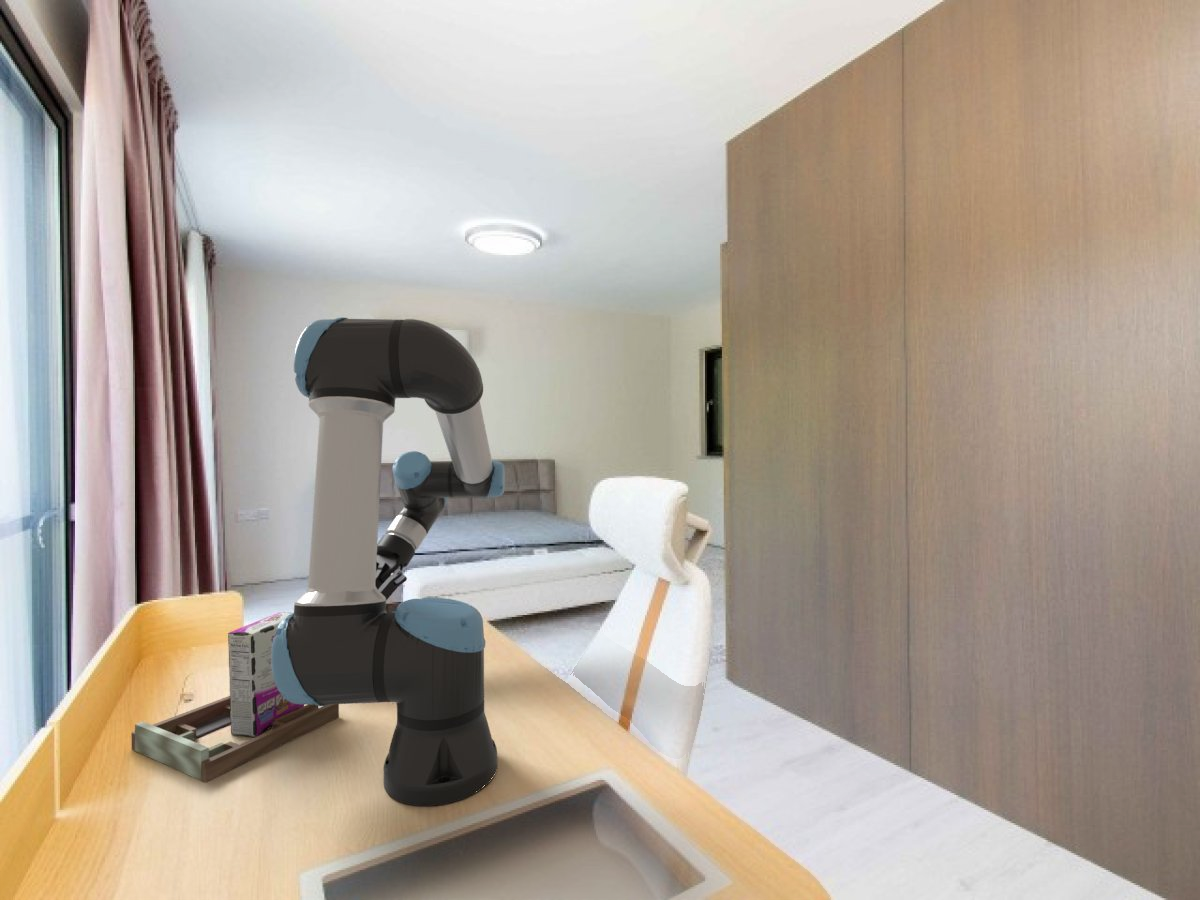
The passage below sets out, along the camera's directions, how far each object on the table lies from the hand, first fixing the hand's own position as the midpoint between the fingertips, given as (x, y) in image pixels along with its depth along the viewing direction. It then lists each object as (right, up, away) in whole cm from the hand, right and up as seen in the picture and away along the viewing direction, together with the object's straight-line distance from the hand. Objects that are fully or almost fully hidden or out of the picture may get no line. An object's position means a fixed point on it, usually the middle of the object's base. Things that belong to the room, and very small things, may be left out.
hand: (331, 647), depth 107 cm
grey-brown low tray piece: (-7, -8, -15) cm, 19 cm away
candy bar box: (-5, -9, -11) cm, 15 cm away
